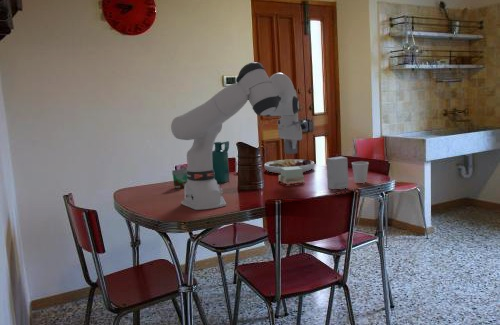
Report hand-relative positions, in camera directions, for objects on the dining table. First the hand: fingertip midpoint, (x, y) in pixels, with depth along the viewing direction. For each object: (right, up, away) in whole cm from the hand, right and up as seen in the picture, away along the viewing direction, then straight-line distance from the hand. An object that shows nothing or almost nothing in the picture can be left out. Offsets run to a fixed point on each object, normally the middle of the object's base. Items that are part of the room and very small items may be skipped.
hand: (290, 148), depth 224 cm
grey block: (0, -3, 0) cm, 3 cm away
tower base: (+1, -18, +3) cm, 18 cm away
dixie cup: (+34, -18, -6) cm, 39 cm away
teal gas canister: (-36, -18, +16) cm, 44 cm away
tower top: (+1, -14, +2) cm, 14 cm away
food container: (-56, -21, +5) cm, 60 cm away
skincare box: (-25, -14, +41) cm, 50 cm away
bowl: (+3, -13, +41) cm, 43 cm away
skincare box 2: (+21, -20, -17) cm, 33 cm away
